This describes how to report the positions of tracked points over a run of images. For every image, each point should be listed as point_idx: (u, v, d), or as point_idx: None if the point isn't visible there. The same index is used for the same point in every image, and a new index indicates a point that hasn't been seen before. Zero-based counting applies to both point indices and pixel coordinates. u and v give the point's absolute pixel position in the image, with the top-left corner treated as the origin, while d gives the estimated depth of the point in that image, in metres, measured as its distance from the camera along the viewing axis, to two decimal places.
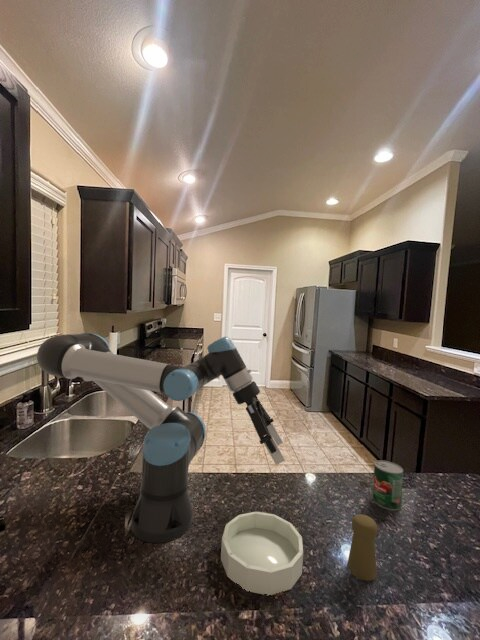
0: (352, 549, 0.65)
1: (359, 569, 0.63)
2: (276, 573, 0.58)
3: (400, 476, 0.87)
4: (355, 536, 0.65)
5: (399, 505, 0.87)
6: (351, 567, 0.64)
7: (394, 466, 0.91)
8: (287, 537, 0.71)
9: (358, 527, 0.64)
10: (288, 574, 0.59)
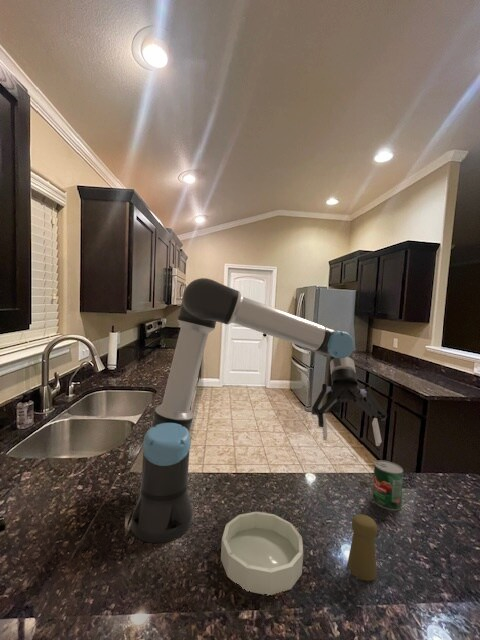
0: (352, 549, 0.65)
1: (359, 569, 0.63)
2: (276, 573, 0.58)
3: (400, 476, 0.87)
4: (355, 536, 0.65)
5: (399, 505, 0.87)
6: (351, 567, 0.64)
7: (394, 466, 0.91)
8: (287, 537, 0.71)
9: (358, 527, 0.64)
10: (288, 574, 0.59)
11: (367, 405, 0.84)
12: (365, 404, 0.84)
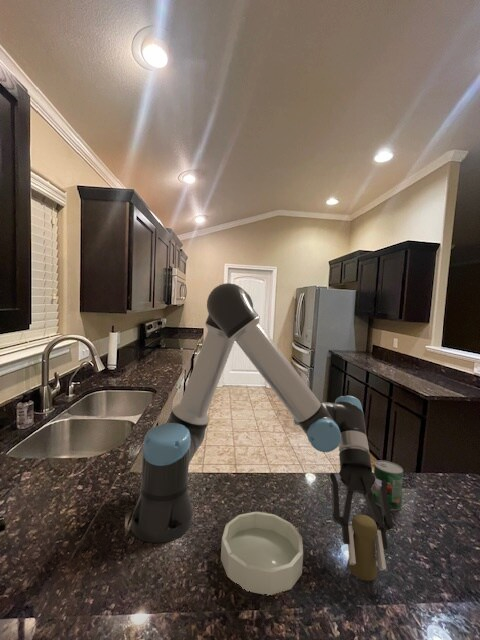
0: None
1: (359, 569, 0.63)
2: (276, 573, 0.58)
3: (400, 476, 0.87)
4: (355, 536, 0.65)
5: (399, 505, 0.87)
6: (351, 567, 0.64)
7: (394, 466, 0.91)
8: (287, 537, 0.71)
9: (358, 527, 0.64)
10: (288, 574, 0.59)
11: (375, 506, 0.68)
12: (373, 504, 0.68)
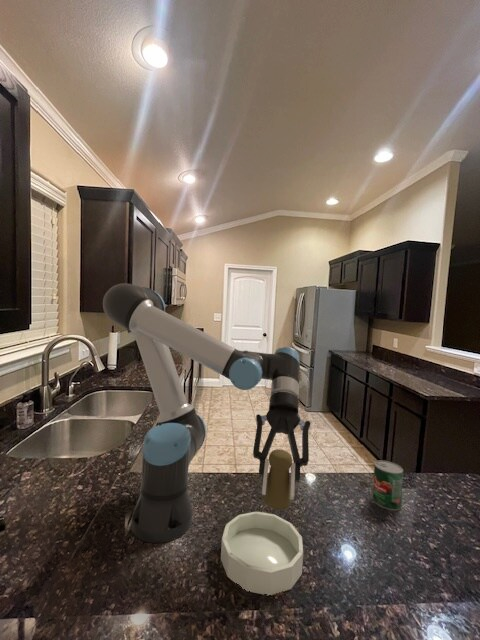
0: (267, 481, 0.66)
1: (271, 499, 0.64)
2: (276, 573, 0.58)
3: (400, 476, 0.87)
4: (270, 468, 0.66)
5: (399, 505, 0.87)
6: (265, 498, 0.65)
7: (394, 466, 0.91)
8: (287, 537, 0.71)
9: (273, 459, 0.65)
10: (288, 574, 0.59)
11: (294, 443, 0.69)
12: (292, 441, 0.69)
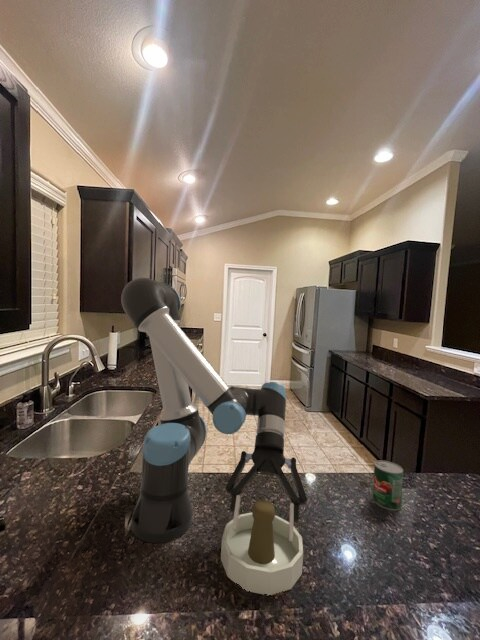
0: (251, 534, 0.66)
1: (255, 553, 0.64)
2: (276, 573, 0.58)
3: (400, 476, 0.87)
4: (254, 521, 0.66)
5: (399, 505, 0.87)
6: (249, 551, 0.66)
7: (394, 466, 0.91)
8: (287, 537, 0.71)
9: (255, 512, 0.65)
10: (288, 574, 0.59)
11: (287, 483, 0.70)
12: (285, 481, 0.70)
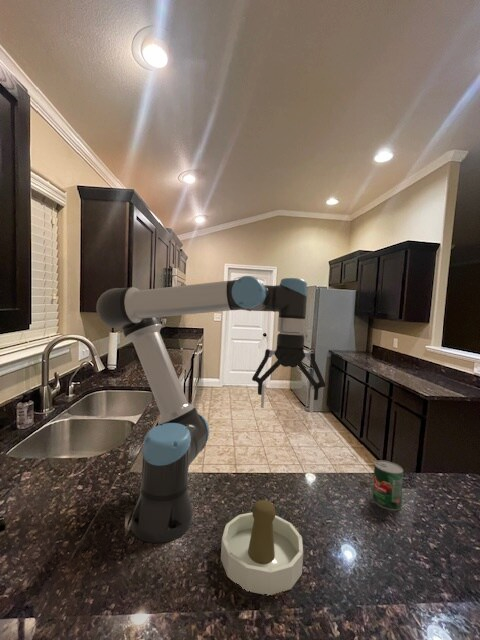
0: (251, 534, 0.66)
1: (255, 553, 0.64)
2: (276, 573, 0.58)
3: (400, 476, 0.87)
4: (254, 521, 0.66)
5: (399, 505, 0.87)
6: (249, 551, 0.66)
7: (394, 466, 0.91)
8: (287, 537, 0.71)
9: (256, 512, 0.65)
10: (288, 574, 0.59)
11: (308, 374, 0.82)
12: (306, 373, 0.82)
